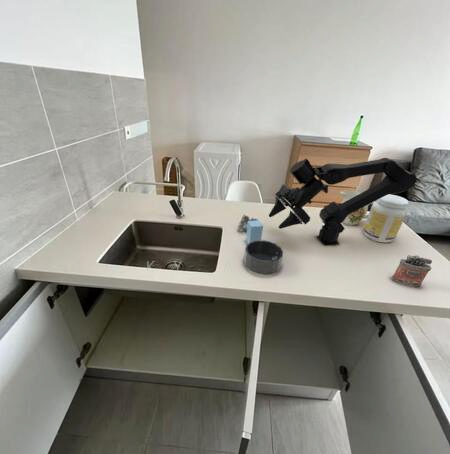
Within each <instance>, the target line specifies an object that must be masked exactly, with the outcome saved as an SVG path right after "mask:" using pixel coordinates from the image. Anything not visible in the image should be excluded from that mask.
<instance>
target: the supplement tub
mask: <svg viewBox="0 0 450 454" xmlns="http://www.w3.org/2000/svg"><path fill="white" fill-rule="evenodd" d="M409 203H410V202H409V200H408V199H406V198H404V197H402V196H399V195H395V194H388V195H386V196H384V197H382V198H380V199H378V200H376V201H375V202H374V203H373V204H371V207H370V210H369V213H368V214H369V215H368V214H367V215H368V218H366V220H365V223H364V226H363V228H362V233H363V234H364V236H365V237H367V238H368V239H370V240H371V241H375V242H378V243H391V242H393V241H395V239H396V238H397V235H398V233H399V231H400V228H401V226H402V224H403V222H404V221H405V218H406V216H407V214H408V209H407V208H408V206H409Z"/></svg>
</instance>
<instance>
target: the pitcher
mask: <svg viewBox="0 0 450 454" xmlns="http://www.w3.org/2000/svg"><path fill="white" fill-rule="evenodd" d="M362 192H363V191H358V190H357V191H356V190H345V191H342V190H341V191H339V194H341V195H342V197H343V200H342V201H341V203H343V202H345V201H347V200H349V199H351V198H353V197H355V196H357V195H359V194H360V193H362ZM374 202H376V201H374ZM374 202H372V203H370V204H368V205H366V206H364V207H362V208H360V209H359V210H357V211H355V212H353V213H351V214H349V215H348V216H347V217H346V219H345V220H344V221H343V222H342V223H343V224H346V225H349V226H355V225H357V224H359V223H361V221H363V220H364V219H367V218H368V215H369V213H368V209H369V206H370V205H373V203H374ZM367 213H368V214H367Z"/></svg>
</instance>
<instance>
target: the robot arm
mask: <svg viewBox="0 0 450 454" xmlns="http://www.w3.org/2000/svg"><path fill="white" fill-rule="evenodd" d="M289 173H290V174H291V176H293V178H294V179H295V180H296V182H297V183H298V184H302V186H300V187H299V186H298V187H290V186H288V185H286V184H281V186H280V188H279V189H278V191H276V193H274V195H275V196H274V198H275V203H274V205H273V207H272V209H271V211H269V214H268V217H269V218H273V217H274V216H276V215H278V214H279V213H281V212H283V211H285V210H286V209H287V207H289V208H290V209H291V210H289V214H288V216H287V217H286V218H285V219H283V221H282V222H281V223H280V224H279V225H278V229H280V230H281V229H285V228H289V227H293V226H296V225H303V224H304V225H307V224H308V223H309V222H310V221H311V217H310V215H309V213H307V211H306V210H305V209H303V207H305V206H306V205H307V204H309V205H311V204H312V203H313V202H312V200H313V199H314V198H315V197H316V196H317V195H318V194H320V192H323V193H325V194H328V193H329V186H333V185H338V184H340V183H343V182H345V181H346V180H348V179H351V178H356V177H364V176H369V175H370V176H371V175H376V174H382V173H383V174H384V175H385V176H384V177H383V179H382V180H381V181H380V182H378V184H375V185H373V186H372V187H370V188H368V189H366V190H364V191H361V192H362V193H360V194H359V195H357V196H355V197H353V198H351V199H349V200H347V201H345V202H343V203H342V202H341V203H336V202H335V201H331V202H330V203H329V204H326V205H324V206H323V208H322V209H321V210H320V211H319V218H320V220H321V221H322V223H323V225H321V229H319V232H318V235H316V238H317V239H318V240H319V241H320V242H321V244H322V245H324V246H335V245H337V246H338V245H340V242H339V241H338V240H339V236H340V234H342V233H343V232H344V231H345V226H344V225H343V224H342V223H344V222H343V221H344V220H345V219H346V217H347V216H348V215H349V214H351V213H353V212H355V211H357V210H359V209H360V208H362V207H364V206H366V205H368V204H370V203H372V202H374V201H375V202H376V201H377V200H378V199H380V198H382V197H384V196H386V195H388V194H390V195H395V194H401V193H403V192H406V191H409V190H411V189H412V188H414V186H415V185H416V183H417V179H418V178H417V176H416V174H414V173H413V172H410V171H408V170H406V169H404V168H402V167H401V166H400V165H399V164H397V162H396V161H395V160H393V159H390V158H388V157H382V158H379V159H374V160H368V161H360V162H355V163H349V164H344V163H343V164H342V163H325V164H324V165H322V166H315V167H313V165H312V164H311V162H310V161H309V159H307V158H304V159H303V160H300V161H298V162H295V163H294V164H293V165H292V166H291V168H290V169H289ZM370 205H371V204H370ZM368 206H369V205H368Z"/></svg>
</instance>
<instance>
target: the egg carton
mask: <svg viewBox="0 0 450 454" xmlns="http://www.w3.org/2000/svg"><path fill="white" fill-rule="evenodd" d="M257 220H259V221H260V219H259V218H254V217H251V218H250V216H248V215H246V214H245V213H243V215H242V216H241V219H240V221H239V223H238V233H240V234H241V233H244V232H247V225H248V221H257Z"/></svg>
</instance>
